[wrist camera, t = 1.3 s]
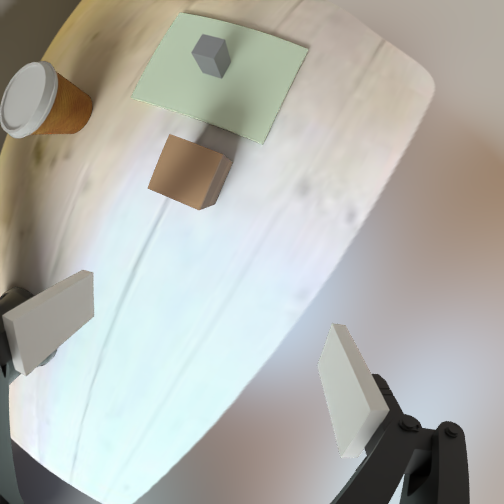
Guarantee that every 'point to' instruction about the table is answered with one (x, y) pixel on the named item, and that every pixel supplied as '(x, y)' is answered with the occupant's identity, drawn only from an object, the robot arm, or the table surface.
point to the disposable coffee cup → (43, 103)
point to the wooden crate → (190, 173)
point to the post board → (238, 85)
